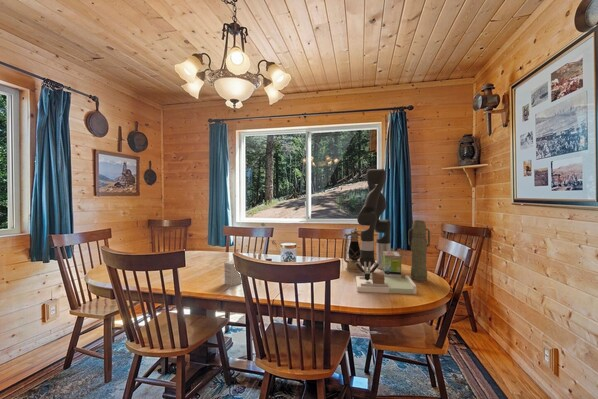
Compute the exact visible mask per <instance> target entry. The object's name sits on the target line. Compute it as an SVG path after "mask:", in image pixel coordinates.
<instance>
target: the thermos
mask: <svg viewBox="0 0 598 399" xmlns="http://www.w3.org/2000/svg"><path fill="white" fill-rule="evenodd" d="M407 232H408V233H407V236H408V239H407V240H408V241H407V242H408V246H410V250H411V267H410V276H411V277H410V279H411V280H412V281H413V282H418V283H419V282H422V283H424V282H427V280H428V279H427V277H428V268H427V251H428V247H430V246H431V230H430V229H429V228H427V225H426V222H425V221H424V220H420V219H419V220H414V221H413V222H412V226H411V228H409V229H408V231H407ZM411 234H412V236H411Z"/></svg>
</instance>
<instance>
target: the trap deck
mask: <svg viewBox="0 0 598 399" xmlns="http://www.w3.org/2000/svg"><path fill="white" fill-rule="evenodd" d="M404 276H405V277H401V278H388V277H384V284H373V282H372V276H370V279H369V281H368V280H366V279H365V276H360V275H359V276H358V275H357V276H355V283H356V290H357V292H359V293H361V292H362V293H382V294H383V293H384V294H386V293H387V294H403V295H404V294H405V295H407V294H409V295H417V294H418V293H417V285H416V283H414V282H415V281H414V280H412V279H411V277H410V276H409V275H404Z"/></svg>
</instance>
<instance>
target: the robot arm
mask: <svg viewBox="0 0 598 399" xmlns="http://www.w3.org/2000/svg"><path fill="white" fill-rule="evenodd" d="M365 177H366V182H367V186H368V189H369V193H368V194H367V195H366V196H365V200H364V204H363V206H362V208H361V210H360V212H359V213H358V215H357V218H356V219H357V223H358V225H360V226H367V227H368V228H367V229H362V230H361V232H360V234H361V236H360V244H359V247H360V258H359V260H358V261H359V262H356V265H357V267H358V268H359V269H360V271H361V273H363V274H364V277H365V279H366V280H368V281H369V279H370V277H371V274H372V273H373V272H376V270H377V269H380V270H381V269H382V270H383V251H391V229H392V225H391V224H392V223H391V220H390V219H381V216H382V215H383V213H384V212H385V210H386V209H387V202H386V197H385V195H384V194H383V193H382V191H383V188H384V185H385V183H386V179H387V173H386V170H385V169H383V168H371V169H370V168H369V169H367V171H366V176H365ZM375 232H376V233H378V234H379V233H380V234H384V235H383V236H380V237H377V238H376V259H375ZM360 263H361V264H362V268H363V269H364V270H363V269H362V268H361V266H360Z"/></svg>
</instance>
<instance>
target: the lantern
mask: <svg viewBox="0 0 598 399" xmlns="http://www.w3.org/2000/svg"><path fill="white" fill-rule="evenodd" d="M353 226H355V227H356V225H353ZM350 232H351V233H344V234H343V235H344V238H343V239H344V240H343V241H344V247H343V261H344V262H345V263H347V264H346V265H347V266H346V268H345V270H346V271H348V272H354V273H358V272H359V273H360V272H361V271H360V269H359V268H358V267H357V265H356V262H359V260H360V244H359V239H360V237H361V233H358V232H359V230H358V229H357V228H353V229H350ZM349 236H350V237H349ZM359 236H360V237H359ZM348 238H349V239H350V242H349V245H347V244H348ZM347 249H348V250H347ZM347 254H348V260H347V258H346V257H347ZM360 266H361V268H362V269H363V270H364V267H363V266H362V264H361V263H360ZM361 273H362V272H361Z"/></svg>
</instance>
